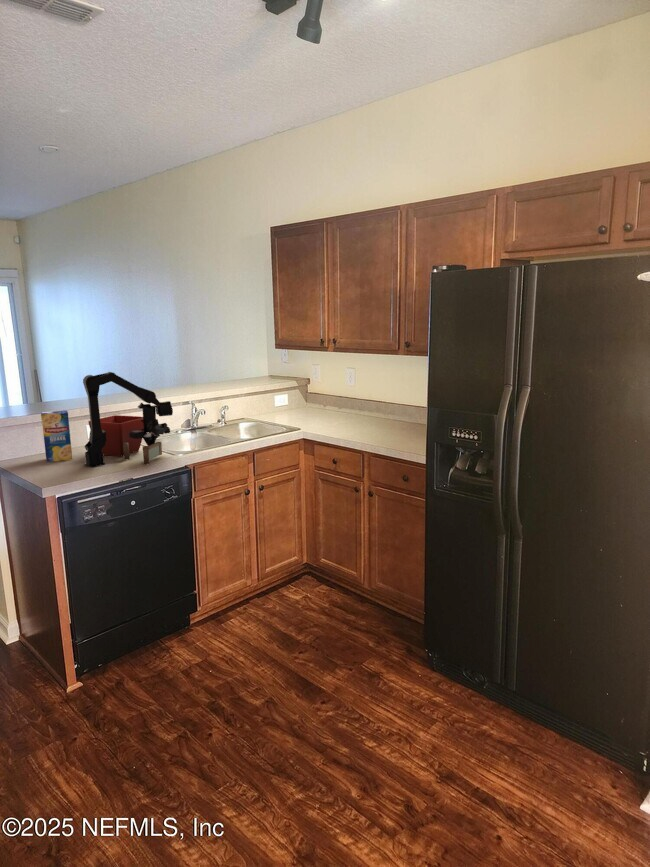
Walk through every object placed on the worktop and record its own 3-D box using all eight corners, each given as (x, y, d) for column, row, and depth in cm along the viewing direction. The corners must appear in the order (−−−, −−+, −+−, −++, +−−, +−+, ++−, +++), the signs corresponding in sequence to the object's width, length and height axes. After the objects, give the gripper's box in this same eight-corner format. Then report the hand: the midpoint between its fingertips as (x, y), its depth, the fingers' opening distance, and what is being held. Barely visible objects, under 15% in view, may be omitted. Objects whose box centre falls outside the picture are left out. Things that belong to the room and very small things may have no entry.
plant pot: (117, 447, 287) (114, 414, 283) (149, 450, 280) (146, 416, 277) (90, 456, 269) (87, 421, 266) (123, 459, 263) (120, 423, 259)
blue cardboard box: (45, 459, 264) (40, 412, 259) (71, 456, 269) (67, 410, 264) (46, 462, 258) (41, 414, 253) (72, 459, 263) (68, 412, 258)
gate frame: (145, 464, 252) (144, 447, 251) (123, 459, 263) (121, 442, 261) (150, 463, 254) (149, 446, 253) (127, 458, 265) (126, 441, 263)
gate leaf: (146, 460, 256) (145, 447, 254) (158, 454, 267) (157, 441, 266) (150, 460, 255) (149, 447, 254) (162, 454, 267) (161, 441, 265)
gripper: (142, 421, 250) (144, 456, 253) (176, 416, 264) (178, 449, 267) (127, 419, 256) (129, 452, 259) (162, 414, 271) (163, 446, 274)
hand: (151, 450), depth 265 cm, fingers closed
